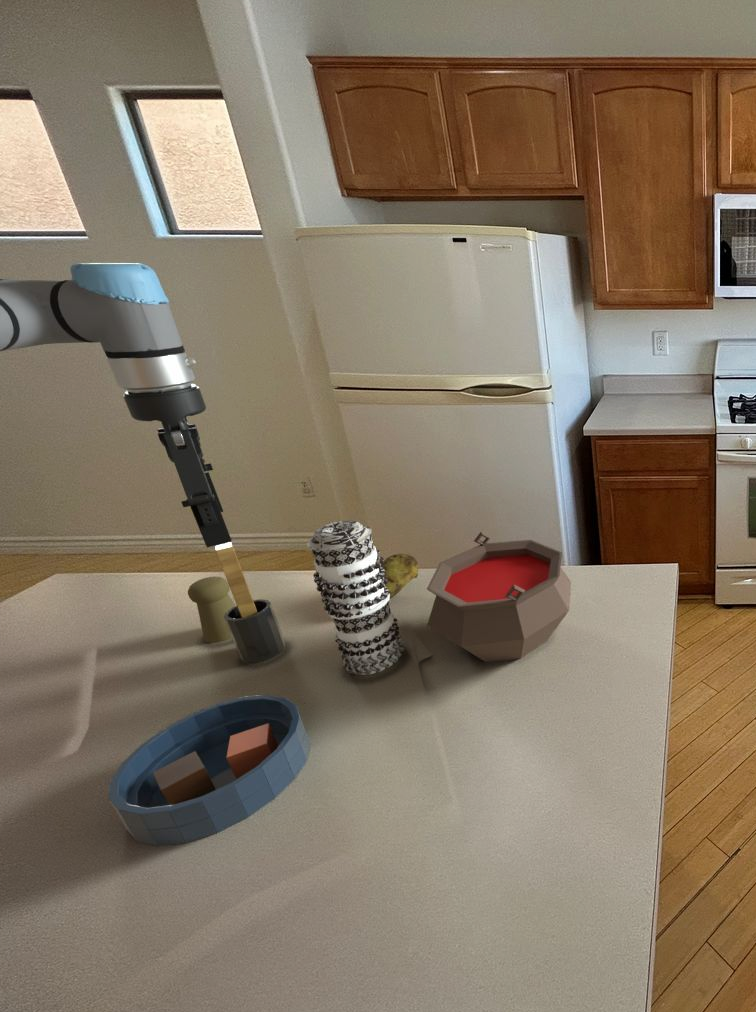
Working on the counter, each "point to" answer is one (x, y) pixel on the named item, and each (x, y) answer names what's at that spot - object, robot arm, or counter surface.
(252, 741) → the terracotta block
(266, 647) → the cup
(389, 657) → the decorative candle
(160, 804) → the bowl
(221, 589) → the cork
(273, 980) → the counter surface
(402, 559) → the yellow green pear
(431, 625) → the brown cooking pot
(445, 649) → the counter surface
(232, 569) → the stirring stick
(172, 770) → the walnut block
